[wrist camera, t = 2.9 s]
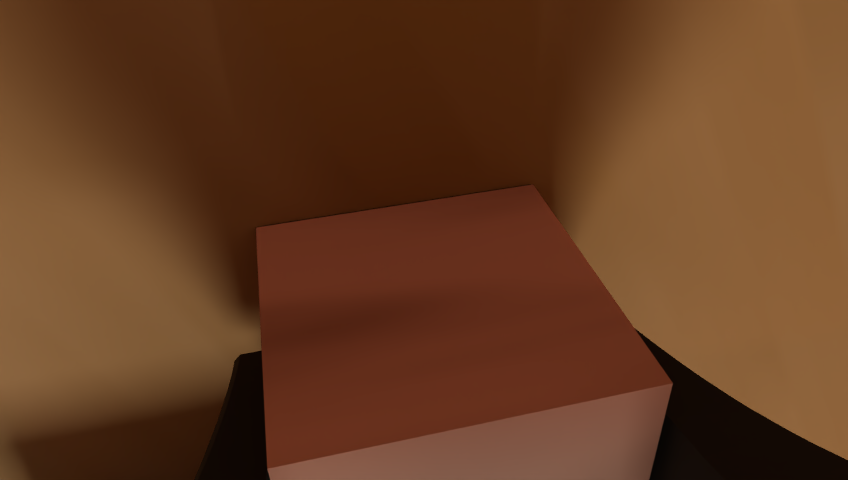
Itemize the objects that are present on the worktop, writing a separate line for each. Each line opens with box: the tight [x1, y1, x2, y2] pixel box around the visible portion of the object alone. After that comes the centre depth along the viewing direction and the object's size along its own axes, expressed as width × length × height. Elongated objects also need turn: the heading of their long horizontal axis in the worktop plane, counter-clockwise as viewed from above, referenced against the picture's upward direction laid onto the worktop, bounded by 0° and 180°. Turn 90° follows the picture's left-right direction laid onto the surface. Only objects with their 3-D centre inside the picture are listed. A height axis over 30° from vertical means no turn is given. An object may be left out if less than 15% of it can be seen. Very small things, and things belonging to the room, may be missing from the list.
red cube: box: [256, 185, 673, 480], centre depth 12 cm, size 5×5×5 cm
